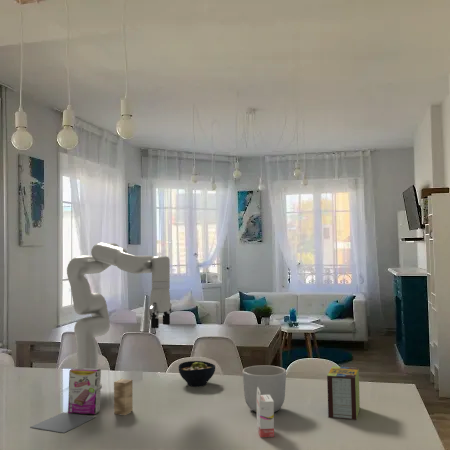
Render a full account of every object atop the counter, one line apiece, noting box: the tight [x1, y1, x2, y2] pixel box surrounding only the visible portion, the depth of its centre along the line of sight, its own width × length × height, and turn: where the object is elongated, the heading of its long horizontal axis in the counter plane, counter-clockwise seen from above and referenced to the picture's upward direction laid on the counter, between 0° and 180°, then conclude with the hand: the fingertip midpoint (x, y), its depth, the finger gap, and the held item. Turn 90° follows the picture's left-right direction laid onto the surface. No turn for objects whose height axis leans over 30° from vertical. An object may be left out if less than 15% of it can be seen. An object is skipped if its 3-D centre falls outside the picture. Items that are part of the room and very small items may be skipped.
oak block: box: [113, 378, 133, 416], centre depth 196 cm, size 5×5×12 cm
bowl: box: [178, 360, 216, 388], centre depth 235 cm, size 17×17×10 cm
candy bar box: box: [67, 367, 102, 415], centre depth 196 cm, size 11×5×16 cm, turn 84°
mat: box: [29, 411, 96, 434], centre depth 185 cm, size 15×17×1 cm
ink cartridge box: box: [256, 387, 275, 438], centre depth 172 cm, size 9×5×15 cm, turn 5°
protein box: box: [326, 365, 361, 421], centre depth 193 cm, size 10×15×16 cm
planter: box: [242, 364, 287, 413], centre depth 197 cm, size 17×17×15 cm
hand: (160, 326), depth 214 cm, fingers open, 9 cm apart
